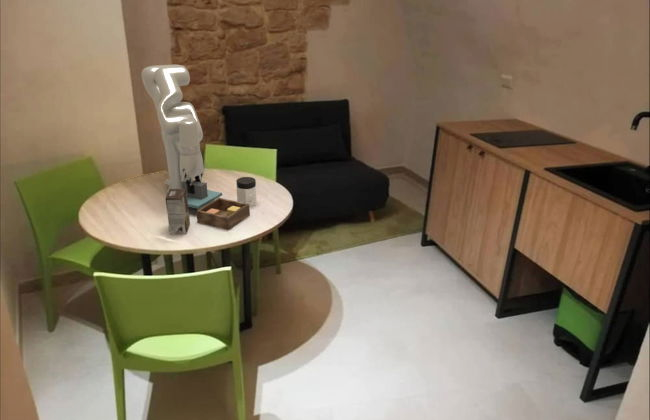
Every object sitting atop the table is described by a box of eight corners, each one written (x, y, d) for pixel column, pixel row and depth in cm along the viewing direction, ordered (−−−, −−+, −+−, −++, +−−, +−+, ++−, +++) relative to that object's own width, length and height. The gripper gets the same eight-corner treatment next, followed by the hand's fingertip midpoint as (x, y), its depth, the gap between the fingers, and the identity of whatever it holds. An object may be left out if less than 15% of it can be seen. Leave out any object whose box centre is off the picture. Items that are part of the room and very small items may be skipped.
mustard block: (227, 218, 199) (226, 209, 197) (233, 214, 202) (232, 205, 201) (235, 220, 197) (235, 211, 196) (241, 216, 201) (240, 207, 199)
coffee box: (174, 226, 194) (169, 188, 187) (190, 225, 194) (186, 188, 188) (169, 237, 185) (164, 198, 179) (186, 236, 186) (182, 197, 179)
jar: (241, 211, 208) (240, 185, 203) (233, 204, 214) (232, 179, 209) (260, 206, 212) (259, 181, 207) (252, 200, 218) (251, 175, 213)
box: (197, 224, 195) (196, 210, 193) (220, 210, 208) (219, 197, 205) (228, 232, 190) (227, 218, 187) (249, 217, 202) (249, 204, 200)
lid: (167, 201, 204) (165, 185, 201) (192, 189, 217) (191, 173, 214) (198, 208, 198) (197, 192, 195) (222, 195, 211) (221, 179, 208)
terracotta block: (206, 221, 196) (205, 212, 195) (212, 217, 200) (211, 208, 198) (214, 223, 195) (213, 214, 193) (220, 219, 198) (219, 210, 196)
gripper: (196, 143, 207) (200, 183, 215) (169, 154, 193) (174, 196, 201) (210, 145, 204) (214, 186, 212) (184, 156, 191) (189, 200, 198)
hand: (194, 191), depth 206 cm, fingers closed on lid, 4 cm apart
